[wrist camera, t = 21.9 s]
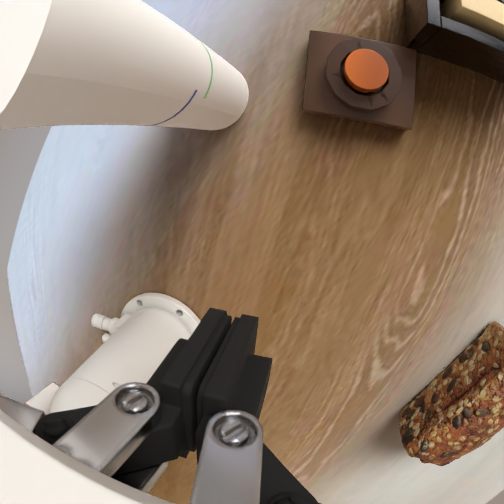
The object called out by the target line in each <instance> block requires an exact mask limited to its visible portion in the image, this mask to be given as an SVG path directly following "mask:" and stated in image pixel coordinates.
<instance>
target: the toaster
mask: <svg viewBox="0 0 504 504" xmlns="http://www.w3.org/2000/svg"><path fill="white" fill-rule="evenodd" d="M444 1H445V0H404V5H405V47H407V48H411V49H415V50H417V52H418V53H422V54H425V55H429V56H432V57H435V58H438V59H442V60H445V61H448V62H451V63H454V64H457V65H459V66H462V67H465V68H468V69H470V70H473V71H475V72H478V73H480V74H483V75H485V76H488V77H490V78H493V79H495V80H497V81H499V82H502V83H504V41H502V40H500V39H498V38H495V37H493V36H491V35H489V34H487V33H484V32H482V31H480V30H477V29H475V28H472V27H470V26H467V25H465V24H462V23H460V22H457V21H454V20H452V19H449V18H446V17H443V16H440V5H441V4H442V3H443V2H444ZM497 1H499V2H501V3H503V4H504V0H497Z"/></svg>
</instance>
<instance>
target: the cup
mask: <svg viewBox="0 0 504 504" xmlns="http://www.w3.org/2000/svg"><path fill="white" fill-rule="evenodd" d="M58 389H59V386H58V385H57V384H55V383H51V384H50V385H48V386H47V387H45V388H44V389H43V390H42V391H40V392H39V393H38V394H36V395H35V396H34V397H33V398H31V399H30V400H29V401H27V402H26V403H24V404H25V405H28V406H30V407H33V408H36V409H39V410H42V411H44V413H45V415H47V414H49V413H50V406H51V402H52V399H53V397H54V395H55V393H56V391H57V390H58Z"/></svg>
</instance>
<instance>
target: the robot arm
mask: <svg viewBox="0 0 504 504" xmlns="http://www.w3.org/2000/svg"><path fill="white" fill-rule="evenodd" d="M231 321H232V318H231V316H228V315H227V312H226V311H224V310H219V309H214V308H210V309H209V310H208V311H207V313H206V314H205V316H204V317H203V319H202V320H201V321H200V320H199V319H198V317H197V316H196V315H195V314H194V313H193V312H192V311H191V310H190V309H189V308H188V307H187V306H186V305H184V304H183V303H181V302H180V301H178V300H176V299H174V298H172V297H170V296H167V295H164V294H161V293H143V294H140V295H138V296H136V297H134V298H133V299H132V300H130V301H129V302H128V303H127V304H126V306H125V307H124V309H123V311H122V314H121V318H120V319H119V318H116V317H115V318H113V319H110V318H108V317H106V316H103V315H100V314H94V315H93V317H92V320H91V324H92V326H93V327H96V328H98V329H101V330H106V331H109V333H110V334H107V333H104V334H103V336H102V341H103V342H104V343H103V344H102V345H101V346H100V347H99V348H98V349H97V350H96V351H95V352H94V353H93V354H92V355H91V356H90V357H89V358H88V359H87V360H86V361H85V362H84V363H83V364H82V365H81V366H80V367H79V368H78V369H77V370H76V371H75V372H74V373H73V374H72V375H71V376H70V377H69V378H68V379H67V380H66V381H65V382H64V383H63V384H62V385H61V386H60V387H59V389H58V390H57V391H56V393H55V395H54V397H53V399H52V402H51V406H50V413H49V414H47V415H45V413H44V411H42V410H39V409H36V408H33V407H30V406H28V405H25V404H22V403H20V402H17V401H14V400H12V399H9V398H7V397H6V396H5V395H4V394H3V393H2V392H1V391H0V504H175V503H172V502H169V501H166V500H163V499H161V498H158V497H155V496H153V495H150V494H148V492H149V491H150V489H151V488H152V487H153V486H154V484H155V483H156V482H157V480H158V479H159V478H160V476H161V475H162V474H163V473H164V471H165V470H166V469H167V467H168V465H169V461H171V460H174V459H177V458H178V456H180V457H184V458H186V457H187V455H188V453H189V451H193V452H194V451H195V450H196V449H197V465H198V467H197V471H196V476H195V480H194V485H193V490H192V494H191V499H190V503H189V504H321V503H318V502H317V501H316V499H315V498H314V497H313V496H312V495H311V494H310V493H309V492H308V491H307V490H306V489H305V488H304V487H303V486H302V485H301V483H300V482H299V481H298V480H297V479H296V478H295V477H294V476H293V475H292V474H291V473H290V472H289V471H288V470H287V469H286V468H285V466H284V465H283V464H282V463H281V462H280V461H279V460H278V459H277V458H276V457H275V455H274V454H273V453H272V452H271V451H270V450H269V449H268V447H267V446H266V445H265V444H264V443H263V427H262V425H261V423H260V422H259V416H260V413H261V409H262V405H263V402H264V398H265V394H266V390H267V385H268V381H269V376H270V370H271V364H272V358H267V357H262V356H257V355H254V351H255V343H256V336H257V328H258V317H254V316H249V315H244V314H242V316H241V318H238V317H235V319H234V321H233V323H232V324H231Z"/></svg>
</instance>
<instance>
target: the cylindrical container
mask: <svg viewBox="0 0 504 504" xmlns="http://www.w3.org/2000/svg"><path fill="white" fill-rule="evenodd" d="M248 99H249V91H248V85H247V83H246V81H245V79H244V77H243V76H242V74H241V73H240V72H239V71H237V70H236V69H235V68H234V67H233V66H231V65H230V64H229V63H228V62H226V61H225V60H224V59H223V58H221V57H220V56H219V55H218V54H216V53H215V52H214V51H212V50H211V49H210V48H209V47H207V46H206V45H205V44H203V43H202V42H201V41H199V40H198V39H197V38H195V37H194V36H192V35H191V34H190V33H188V32H187V31H186V30H184V29H183V28H181V27H180V26H178V25H177V24H176V23H174V22H173V21H171V20H170V19H168V18H167V17H165V16H164V15H162V14H161V13H159V12H158V11H156V10H155V9H153V8H152V7H150V6H149V5H147V4H146V3H144V2H142V1H141V0H0V130H4V129H15V128H25V127H26V128H27V127H40V126H59V125H137V126H161V127H178V128H191V129H202V130H219V129H224V128H226V127H228V126H230V125H232V124H233V123H235V122H236V121H237V120H238V119H239V118H240V117H241V115H242V114H243V113H244V111H245V109H246V106H247V103H248Z"/></svg>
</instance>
